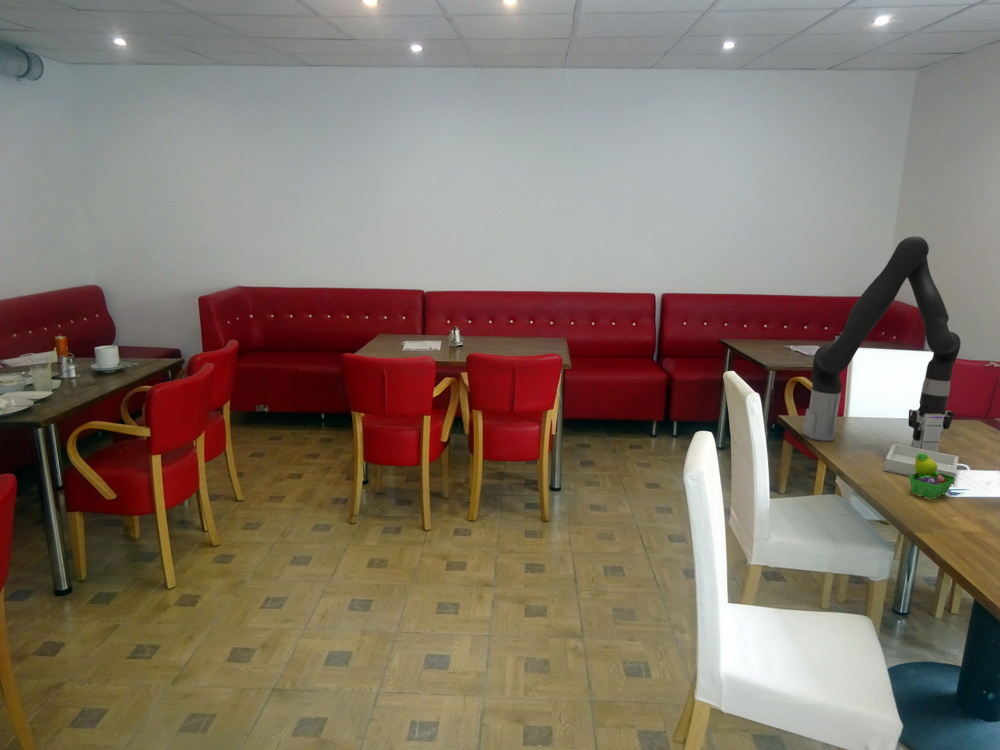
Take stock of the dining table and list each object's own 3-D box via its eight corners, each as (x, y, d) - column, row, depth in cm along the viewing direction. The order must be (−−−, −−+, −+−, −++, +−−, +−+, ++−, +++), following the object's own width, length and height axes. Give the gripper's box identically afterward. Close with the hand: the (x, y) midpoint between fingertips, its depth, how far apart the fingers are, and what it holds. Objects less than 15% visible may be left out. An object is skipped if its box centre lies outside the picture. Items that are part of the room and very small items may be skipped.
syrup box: (937, 456, 216) (945, 414, 212) (919, 455, 216) (927, 414, 212) (927, 450, 221) (934, 409, 218) (909, 449, 221) (917, 409, 218)
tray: (953, 485, 192) (955, 473, 191) (883, 470, 202) (885, 458, 201) (956, 468, 206) (958, 456, 205) (891, 454, 216) (893, 443, 215)
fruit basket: (933, 503, 180) (941, 464, 177) (900, 491, 187) (907, 454, 184) (953, 494, 185) (961, 457, 183) (920, 483, 193) (927, 447, 190)
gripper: (921, 394, 210) (912, 443, 214) (964, 395, 210) (954, 444, 214) (906, 388, 217) (897, 436, 221) (948, 389, 217) (939, 437, 221)
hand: (926, 440), depth 218 cm, fingers closed on syrup box, 6 cm apart
